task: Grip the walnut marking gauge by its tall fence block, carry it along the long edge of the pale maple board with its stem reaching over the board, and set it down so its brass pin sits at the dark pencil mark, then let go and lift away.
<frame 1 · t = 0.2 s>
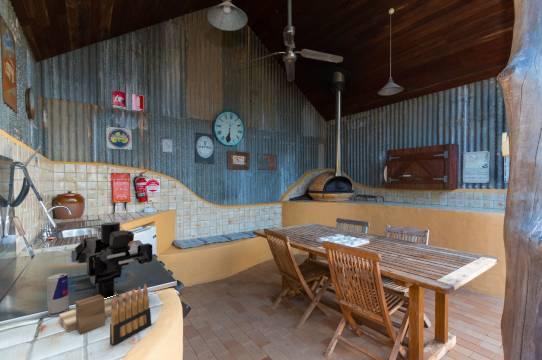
hand: (132, 264, 79), 17 cm above the counter, tool horizontal, fingers open, 9 cm apart
maple board: (105, 311, 84), on the counter
ammunition clip: (131, 334, 71), on the counter
energy drink: (58, 313, 84), on the counter
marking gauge: (91, 327, 75), on the counter
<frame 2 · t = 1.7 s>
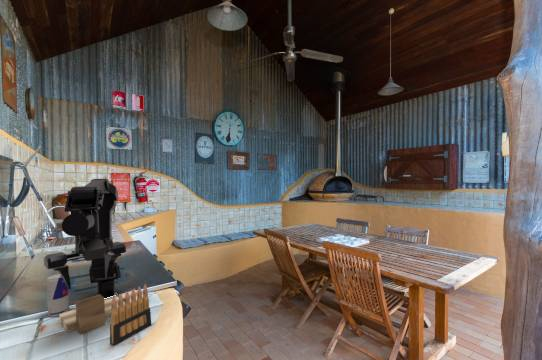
hand: (89, 283, 76), 12 cm above the counter, tool pointing down, fingers open, 9 cm apart
nothing on the counter moved.
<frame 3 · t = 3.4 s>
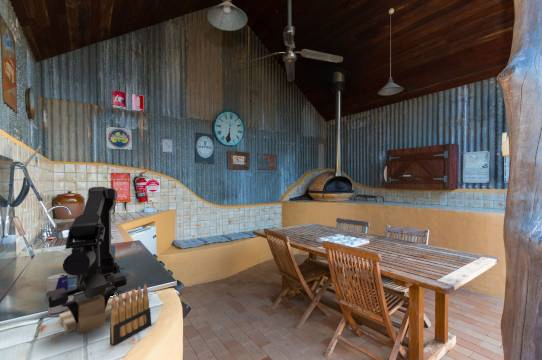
hand: (90, 317, 76), 3 cm above the counter, tool pointing down, fingers closed on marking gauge, 6 cm apart
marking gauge: (91, 327, 75), on the counter, touching gripper
everything else where it was.
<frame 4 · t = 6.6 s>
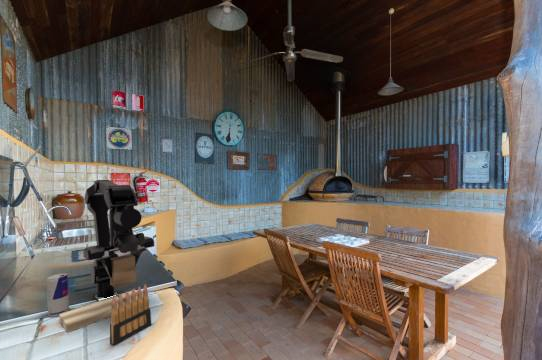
hand: (122, 274, 82), 12 cm above the counter, tool pointing down, fingers closed on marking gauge, 6 cm apart
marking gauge: (123, 282, 82), point 10 cm above the counter, touching gripper
everything else where it was.
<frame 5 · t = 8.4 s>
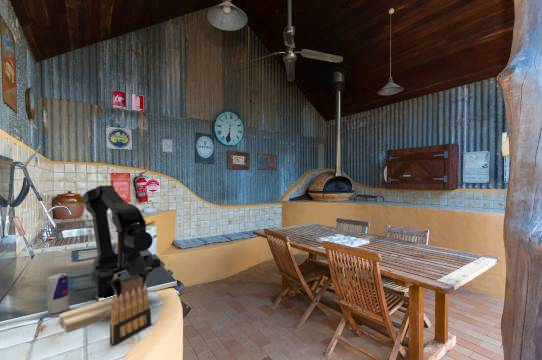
hand: (130, 295, 84), 5 cm above the counter, tool pointing down, fingers closed on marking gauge, 6 cm apart
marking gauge: (131, 303, 83), point 3 cm above the counter, touching gripper
everything else where it was.
when the fingers open (3 cm above the counter, at t = 9.6 s): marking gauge stays where it is, on the counter.
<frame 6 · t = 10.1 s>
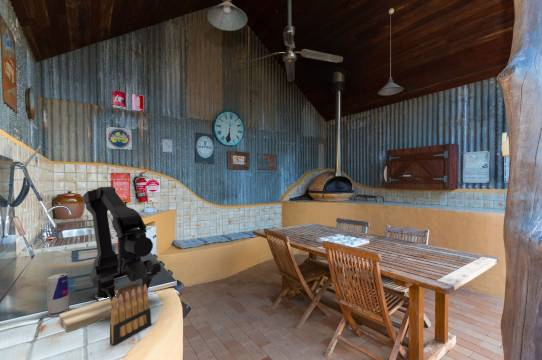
hand: (130, 300, 84), 3 cm above the counter, tool pointing down, fingers open, 9 cm apart
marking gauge: (131, 311, 83), on the counter
everything else where it was.
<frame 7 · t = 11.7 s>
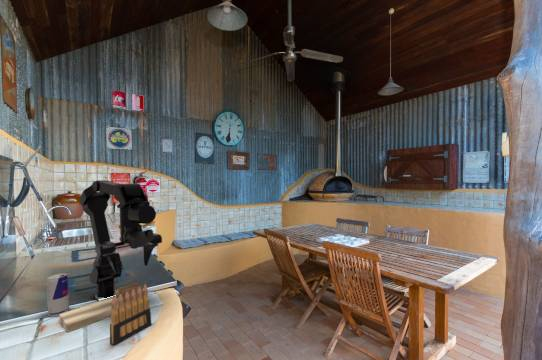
hand: (131, 269, 86), 13 cm above the counter, tool pointing down, fingers open, 9 cm apart
nothing on the counter moved.
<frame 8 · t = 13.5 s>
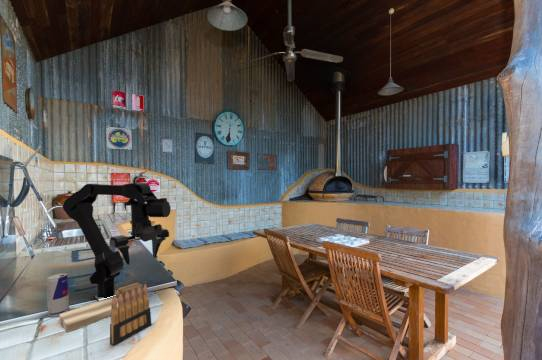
hand: (141, 261, 94), 13 cm above the counter, tool pointing down, fingers open, 9 cm apart
nothing on the counter moved.
at the end: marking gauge 0.4 cm from the target spot, on the counter; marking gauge tilted 0°; the gripper is holding nothing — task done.
